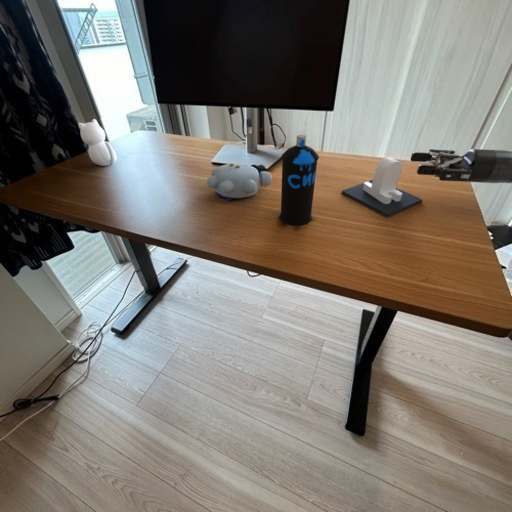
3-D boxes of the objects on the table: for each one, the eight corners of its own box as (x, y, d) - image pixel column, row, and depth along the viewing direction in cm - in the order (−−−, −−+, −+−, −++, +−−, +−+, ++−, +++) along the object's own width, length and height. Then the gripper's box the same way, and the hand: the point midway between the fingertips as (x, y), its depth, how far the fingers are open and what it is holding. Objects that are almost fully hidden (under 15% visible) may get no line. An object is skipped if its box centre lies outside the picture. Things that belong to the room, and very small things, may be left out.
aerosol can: (275, 212, 72) (276, 133, 59) (303, 206, 73) (310, 128, 60) (287, 228, 66) (291, 144, 53) (317, 222, 67) (328, 139, 54)
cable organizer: (385, 204, 71) (396, 167, 65) (361, 188, 78) (370, 154, 72) (401, 200, 73) (414, 164, 66) (376, 185, 80) (386, 151, 73)
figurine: (237, 210, 72) (282, 191, 84) (236, 179, 67) (285, 164, 79) (196, 192, 81) (243, 177, 93) (194, 163, 76) (243, 151, 88)
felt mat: (421, 201, 73) (422, 199, 73) (387, 217, 68) (388, 214, 67) (374, 181, 84) (374, 178, 83) (341, 193, 79) (341, 190, 78)
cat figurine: (106, 157, 109) (90, 116, 99) (128, 161, 104) (113, 119, 94) (86, 165, 103) (67, 122, 93) (108, 170, 98) (91, 126, 88)
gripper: (484, 141, 68) (414, 138, 71) (510, 162, 57) (426, 158, 60) (469, 169, 72) (404, 166, 76) (491, 194, 62) (414, 189, 65)
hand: (414, 162), depth 68 cm, fingers open, 8 cm apart
